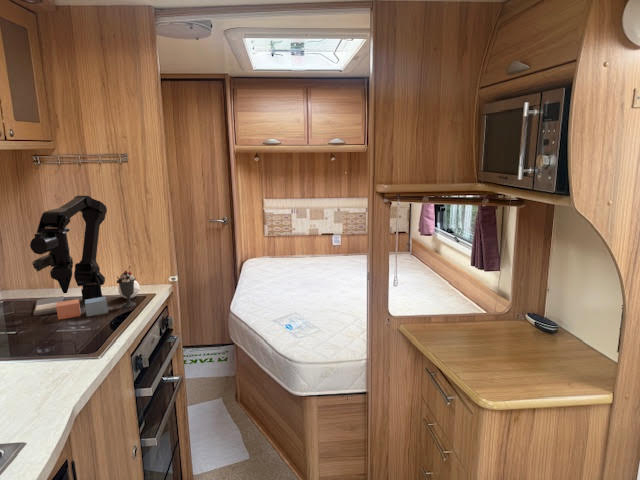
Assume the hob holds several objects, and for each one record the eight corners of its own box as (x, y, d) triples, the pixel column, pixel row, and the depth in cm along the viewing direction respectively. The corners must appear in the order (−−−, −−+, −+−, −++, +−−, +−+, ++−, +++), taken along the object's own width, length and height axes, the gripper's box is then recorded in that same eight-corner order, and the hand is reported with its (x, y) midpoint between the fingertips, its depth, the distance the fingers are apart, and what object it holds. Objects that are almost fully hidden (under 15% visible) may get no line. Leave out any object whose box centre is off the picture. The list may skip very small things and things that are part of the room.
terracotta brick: (80, 311, 164) (78, 299, 163) (80, 316, 160) (78, 303, 159) (58, 315, 160) (56, 302, 159) (58, 319, 157) (56, 306, 155)
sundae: (141, 302, 172) (137, 265, 169) (133, 308, 165) (128, 270, 162) (125, 301, 173) (121, 264, 169) (116, 308, 166) (111, 269, 163)
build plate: (63, 298, 178) (63, 295, 177) (62, 311, 164) (61, 308, 164) (37, 302, 174) (37, 299, 173) (33, 315, 160) (33, 312, 160)
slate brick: (107, 308, 166) (106, 296, 165) (108, 313, 162) (106, 300, 161) (86, 312, 163) (84, 299, 162) (86, 316, 159) (84, 303, 158)
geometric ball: (125, 305, 176) (110, 292, 173) (135, 292, 183) (120, 279, 180) (137, 298, 173) (122, 284, 170) (147, 285, 180) (132, 271, 177)
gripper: (34, 244, 159) (41, 285, 162) (29, 256, 143) (36, 301, 146) (69, 240, 164) (75, 280, 167) (68, 251, 148) (75, 295, 151)
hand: (65, 289), depth 158 cm, fingers open, 9 cm apart
